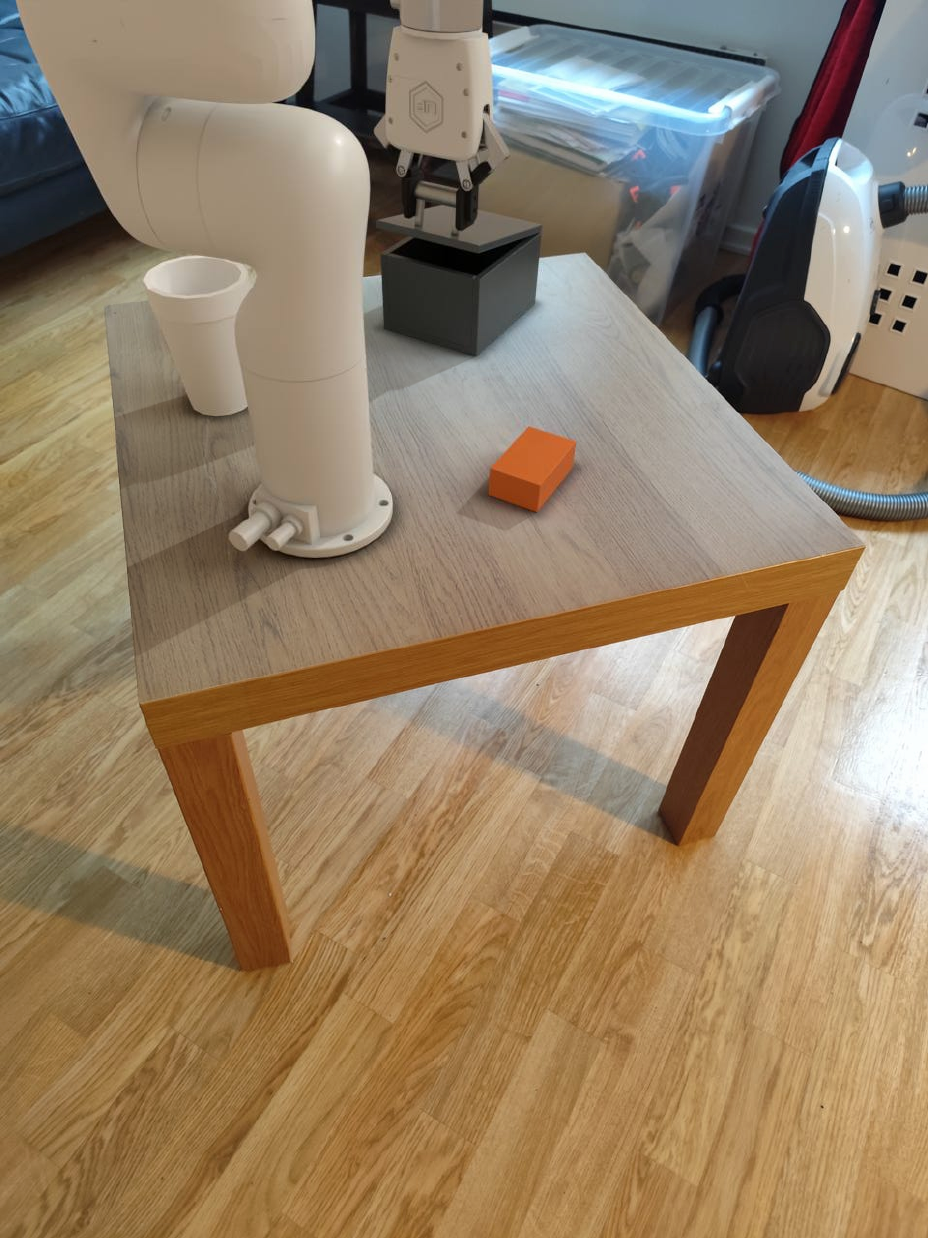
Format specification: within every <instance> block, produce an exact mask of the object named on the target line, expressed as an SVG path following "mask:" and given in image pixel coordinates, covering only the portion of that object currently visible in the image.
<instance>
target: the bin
mask: <svg viewBox="0 0 928 1238" xmlns="http://www.w3.org/2000/svg"><path fill="white" fill-rule="evenodd" d="M542 235H543V233H542V231H541V232H539V233H536V234H533V235H530V236H527V237H524V238H521V239H518V240H516V241H513V242H510V243H507V244H504V245H501V246H498V247H495V248H492V249H489V250H487V251H484V252H481V253H474V252H470V251H466V250H462V249H458V248H454V247H450V246H446V245H442V244H438V243H434V242H430V241H426V240H422V239H418V238H414V237H411V236H406V237H405V238H403V239H401V240H400V241H399V242H397V243H395V244H393V245H392V246H390V247H389V248H387V249H386V250H384V251H382V252H381V253H380V277H381V300H382V321H383V322H382V323H383V329H384V330H387V331H391V332H393V333H397V334H401V335H404V336H408V337H410V338H415V339H417V340H421V341H425V342H427V343H431V344H435V345H437V346H441V347H445V348H447V349H451V350H454V351H458V352H462V353H465V354H468V355H471V356H475V357H477V356H478V355H479V354H481V353H482V352H483V351H484V350H485V349H486V348H488V346H490V345H491V344H492V343H493V342H495V340H497V338H499V337H500V336H501V335H502V334H503V333H504V332H506V330H508V329H509V328H510V327H512V325H514V323H516V322H517V321H518V320H519V319H520V318H522V316H523V315H525V314H526V313H527V312H528V311H529V310H530V309H532V307H534V306H535V305H536V298H537V287H538V278H539V277H538V276H539V267H540V266H539V265H540V254H541V243H542Z"/></svg>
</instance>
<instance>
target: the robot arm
mask: <svg viewBox="0 0 928 1238" xmlns="http://www.w3.org/2000/svg"><path fill="white" fill-rule="evenodd" d="M15 3H16V6H17V10H18V15H19V18H20V21H21V24H22V28H23V30H24V32H25V36H26V38H27V41H28V43H29V45H30V48H31V50H32V53H33V54H34V57H35V59H36V62H37V64H38V66H39V68H40V70H41V73H42V74H43V76H44V78H45V79H44V80H45V81H46V83H47V84H48V87H49V89H50V91H51V93H52V95H53V97H54V100H55V102H56V103H57V106H58V107H59V110H60V112H61V114H62V116H63V118H64V120H65V122H66V124H67V127H68V128H69V130H70V133H71V134H72V137H73V138H74V139H73V140H74V141H75V143H76V145H77V147H78V149H79V152H80V154H81V155H82V157H83V159H84V161H85V164H86V165H87V167H88V170H89V172H90V174H91V176H92V178H93V180H94V182H95V184H96V186H97V188H98V190H99V192H100V194H101V196H102V198H103V200H104V202H105V203H106V205H107V207H108V208H109V210H110V212H111V213H112V215H113V217H114V218H115V219H116V221H117V222H118V224H120V226H121V227H122V228H123V229H124V230H125V231H126V232H127V233H128V234H129V235H130V236H132V237H133V239H135V240H137V241H138V242H140V243H141V244H144V245H147V246H149V247H152V248H155V249H159V250H165V251H168V252H174V253H179V254H186V255H191V256H205V257H211V258H218V259H224V260H228V261H231V262H236V263H241V264H242V265H245V266H248V267H251V268H252V269H253V270H254V271H255V275H256V276H255V282H254V283H253V286H252V287H251V290H250V291H249V292H248V294H247V295H246V297H245V298H244V299H243V301H242V303H241V305H240V307H239V309H238V311H237V314H236V319H235V326H234V334H235V343H236V348H237V354H238V359H239V362H240V367H241V373H242V378H243V384H244V389H245V394H246V400H247V405H248V406H247V411H248V416H249V421H250V428H251V432H252V438H253V443H254V448H255V453H256V454H255V455H256V459H257V460H256V461H257V464H258V472H259V475H260V481H261V483H260V484H259V485H258V486H257V488H256V489H255V490H254V491H253V493H252V495H251V497H250V499H249V502H248V506H247V511H248V518H247V519H245V520H243V521H242V522H240V523H239V524H238V525H236V527H234V528H233V529H232V530H230V531H229V533H228V540H229V542H230V543H231V545H232V546H233V547H234V548H235V549H237V550H238V551H240V552H246V551H248V549H250V548H251V547H252V546H253V545H254V544H255V543H256V542H258V541H259V540H260V541H261V542H263V543H264V544H265V545H267V546H268V548H269V549H271V550H272V551H275V552H278V551H279V552H280V553H283V554H286V555H291V556H295V557H300V558H311V559H312V558H314V559H317V558H331V557H336V556H342V555H346V554H348V553H352V552H355V551H357V550H359V549H361V548H363V547H366V546H369V544H370V543H372V542H374V541H375V540H376V539H378V538H379V537H380V536H381V535H382V534H383V533H384V532H385V531H386V530H387V528H388V526H389V524H390V523H391V520H392V516H393V515H394V514H393V513H394V507H393V506H394V505H393V504H394V503H393V502H394V501H393V496H392V493H391V490H390V489H389V486H388V485H387V484H386V482H385V481H384V480H383V479H382V478H381V477H379V476H378V475H377V474H376V473H374V463H373V446H372V444H373V443H372V430H371V414H370V413H371V411H370V398H369V397H370V396H369V383H368V381H369V379H368V367H367V366H368V363H367V349H366V335H365V318H364V316H365V315H364V266H365V251H366V250H365V249H366V239H367V231H368V223H369V212H370V202H371V201H370V200H371V177H370V176H371V175H370V168H369V162H368V158H367V155H366V153H365V150H364V148H363V146H362V144H361V142H360V141H359V139H358V138H357V137H356V136H355V134H354V133H353V132H352V131H351V129H348V127H347V126H345V125H344V124H342V122H340V121H338V120H336V118H334V117H331V116H330V115H327V114H324V113H322V112H319V111H316V110H313V109H310V108H305V107H301V106H296V105H291V104H290V105H289V104H283V103H277V102H281V101H284V100H286V99H288V98H290V97H292V96H294V95H296V93H299V91H300V90H302V87H304V85H305V83H306V82H307V81H308V80H309V78H310V75H311V73H312V69H313V66H314V62H315V57H316V23H315V15H314V6H313V0H15ZM389 3H390V6H391V8H392V9H394V10H398V11H399V21H400V25H398V26H394V27H393V29H392V35H391V39H390V46H389V53H388V61H387V69H386V70H387V72H386V85H385V86H386V87H385V88H386V89H385V113H384V114H383V116H382V117H381V119H380V120H379V121H378V123H377V124H376V126H375V127H374V129H373V134H374V135H375V137H376V139H377V140H378V141H379V142H380V144H381V145H382V146H383V148H384V149H386V154H387V155H388V157H389V159H390V160H391V161H392V163H393V165H394V166H395V167H396V169H395V170H396V174H397V175H398V176H399V177H401V204H402V206H403V214H404V217H405V218H408V219H410V218H412V217H414V216H415V212H416V199H415V198H414V195H413V188H414V184H415V182H416V181H417V180H421V181H425V174H424V171H423V170H420V167H421V163H422V159H423V156H424V155H425V156H429V157H434V158H440V159H445V160H449V161H455V165H456V170H457V172H458V178H459V181H460V188H457V189H458V190H457V191H456V215H455V228H456V229H457V230H459V231H463V230H465V229H466V228H468V227H469V226H471V225H473V224H474V222H475V220H476V218H477V214H478V210H479V194H480V193H479V192H480V185H481V184H483V183H484V182H485V180H486V179H487V178H488V177H489V176H490V175H492V173H493V172H494V171H495V170H497V168H499V167H500V166H501V165H502V164H504V163H505V162H506V161H507V160H508V159H509V158H510V156H511V151H510V149H509V147H508V146H507V144H506V142H505V140H504V139H503V137H502V135H501V133H500V132H499V130H498V128H497V127H496V125H495V123H494V86H493V84H494V82H493V67H492V57H491V56H492V55H491V48H490V41H489V35H488V33H486V32H483V20H484V0H389ZM486 150H488V156H487V157H486V158H485V159H484V160H483V161H482V162H481V157H480V154H479V152H484V151H486Z"/></svg>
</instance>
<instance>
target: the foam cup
mask: <svg viewBox="0 0 928 1238" xmlns="http://www.w3.org/2000/svg"><path fill="white" fill-rule="evenodd" d="M250 281H251V280H250V275H249V271H248V270H247V268H246V267H245V266H244V264H241V263H236V262H231V261H228V260H224V259H218V258H211V257H205V256H198V255H186V256H180V257H176V258H173V259H169V260H166V261H162V262H160V263H159V264H157V265H155V266H154V267H152V268H150V269H148V271H147V272H146V274H145V276H144V277H143V279H142V282H143V286H144V290H145V293H146V298H147V301H148V305H149V307H150V309H151V310H152V312H153V315H155V317H156V320H157V323H158V325H159V327H160V330H161V332H162V334H163V337H164V340H165V342H166V345H167V347H168V350H169V353H170V355H171V357H172V361H173V362H174V365H175V367H176V371H177V373H178V375H179V377H180V381H181V382H182V383H181V384H182V385H183V388H184V390H185V393H186V396H187V398H188V400H189V402H190V404H191V406H192V408H193V410H194V411H196V412H197V413H200V414H202V415H204V416H213V417H224V416H232V415H233V414H236V413H240V412H241V411H244V410H245V409H247V408H248V405H247V400H246V394H245V389H244V384H243V378H242V373H241V367H240V362H239V359H238V354H237V348H236V343H235V334H234V326H235V319H236V314H237V311H238V309H239V307H240V305H241V303H242V301H243V299H244V298H245V297H246V295H247V294H248V292H249V291H250V290H251V288H252V287H251V282H250Z"/></svg>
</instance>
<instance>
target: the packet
mask: <svg viewBox="0 0 928 1238" xmlns="http://www.w3.org/2000/svg"><path fill="white" fill-rule="evenodd" d="M576 448H577V441H576V440H573V439H570V438H567V437H563V436H560V435H558V434H554V433H551V432H549V431H545V430H542V429H539V428H536V427H533V426H530V425H529V426H527V427H526V428H525V430H523V432H522V433H521V434H520V435H519V436H518V438H516V439H515V440H514V442H513V443H512V444H511V445H510V446H509V447H508V448H507V449H506V450H505V451H504V453H502V455H501V456H500V457H499V458H498V459H497V460H496V461H495V463H494V464H492V465H491V467H490V468H489V479H488V480H489V482H488V496H490V497H492V498H493V497H494V498H496V499H498V500H502V501H504V502H507V503H509V504H513V505H516V506H519V507H521V508H524V509H526V510H530V511H532V512H535V513H538V512H539V511H540V509H541V508H542V507H543V506H544V505H545V503H546V502H547V501H548V499H550V497H551V496H552V494H553V493H554V492H555V491H556V489H557V488H558V487H559V486H560V484H561V483H562V482H563V481H564V480H565V478H566V477H567V475H568V474H569V473H570V472H571V471H572V469H573V467H574V461H575V455H576V454H575V453H576Z"/></svg>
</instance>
